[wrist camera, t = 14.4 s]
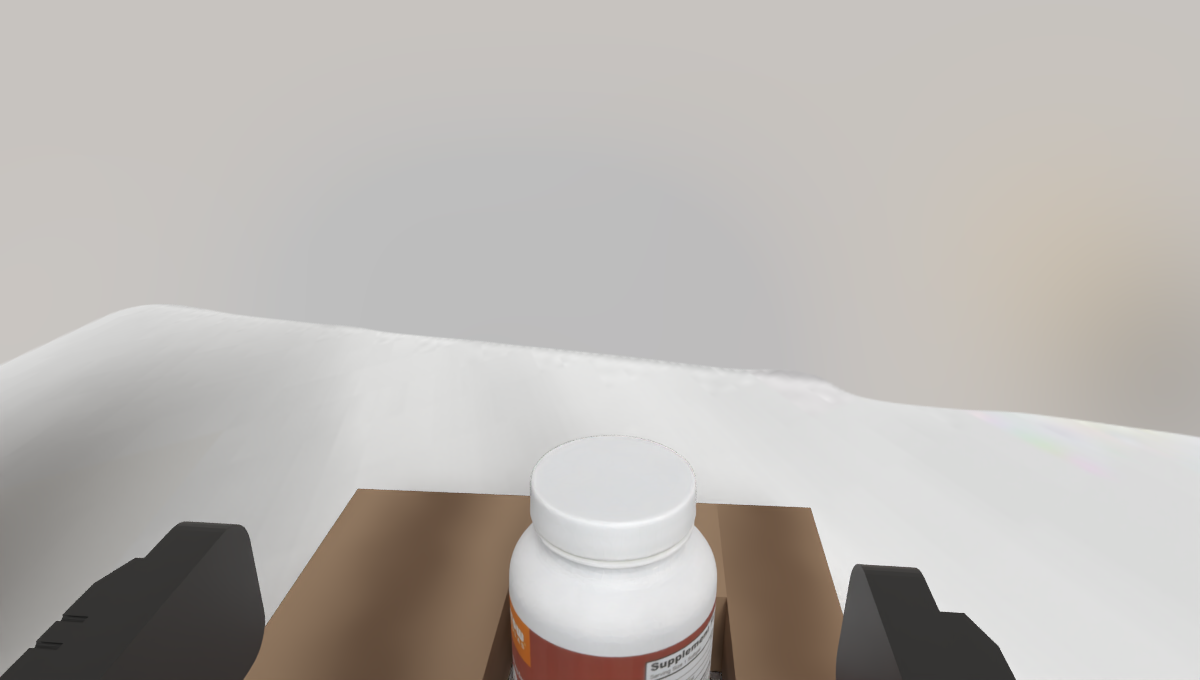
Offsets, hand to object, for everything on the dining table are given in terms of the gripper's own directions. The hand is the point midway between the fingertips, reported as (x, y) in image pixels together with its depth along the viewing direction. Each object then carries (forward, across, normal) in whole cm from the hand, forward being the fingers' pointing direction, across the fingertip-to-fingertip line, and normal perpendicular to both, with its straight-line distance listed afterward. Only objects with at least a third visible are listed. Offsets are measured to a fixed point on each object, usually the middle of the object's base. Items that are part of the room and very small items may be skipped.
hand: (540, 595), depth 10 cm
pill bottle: (+10, -1, +16) cm, 19 cm away
